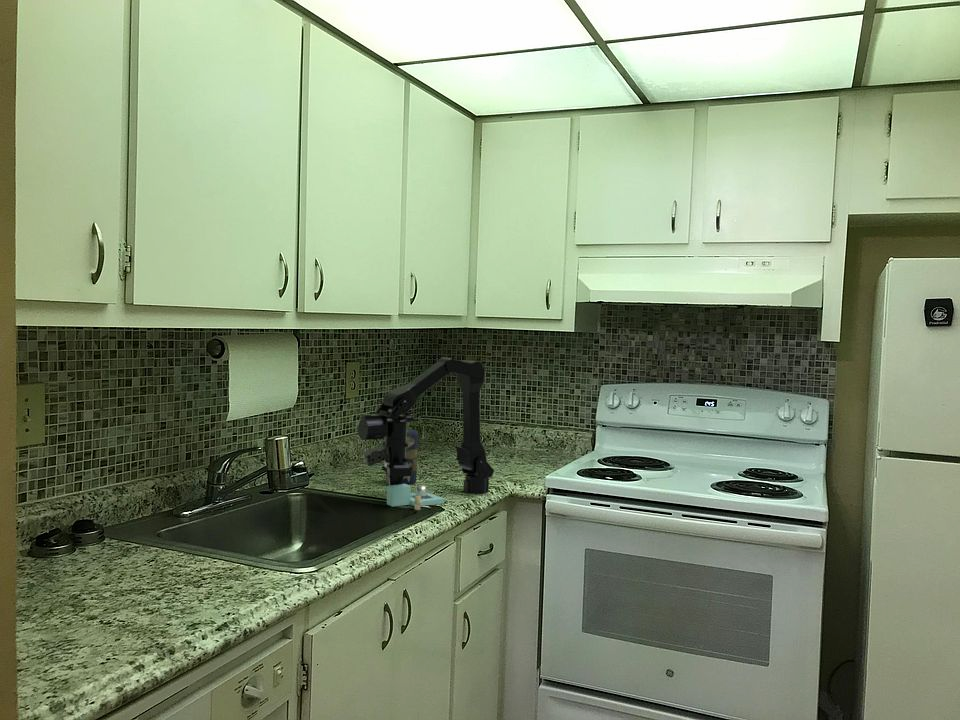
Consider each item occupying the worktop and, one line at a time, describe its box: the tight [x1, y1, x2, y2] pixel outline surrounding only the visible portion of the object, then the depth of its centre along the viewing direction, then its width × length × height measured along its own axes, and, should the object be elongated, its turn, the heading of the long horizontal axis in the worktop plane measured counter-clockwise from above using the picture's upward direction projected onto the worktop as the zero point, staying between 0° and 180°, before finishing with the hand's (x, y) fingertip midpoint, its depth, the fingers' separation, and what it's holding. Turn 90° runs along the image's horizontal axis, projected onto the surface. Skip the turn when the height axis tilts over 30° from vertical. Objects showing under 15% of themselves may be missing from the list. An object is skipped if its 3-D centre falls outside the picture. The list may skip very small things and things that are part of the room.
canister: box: [385, 428, 419, 486], centre depth 235 cm, size 10×10×18 cm
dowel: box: [414, 496, 422, 511], centre depth 202 cm, size 2×2×4 cm
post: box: [415, 484, 428, 500], centre depth 210 cm, size 3×3×4 cm
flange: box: [386, 484, 445, 507], centre depth 209 cm, size 14×9×5 cm, turn 127°
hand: (392, 494), depth 209 cm, fingers closed
